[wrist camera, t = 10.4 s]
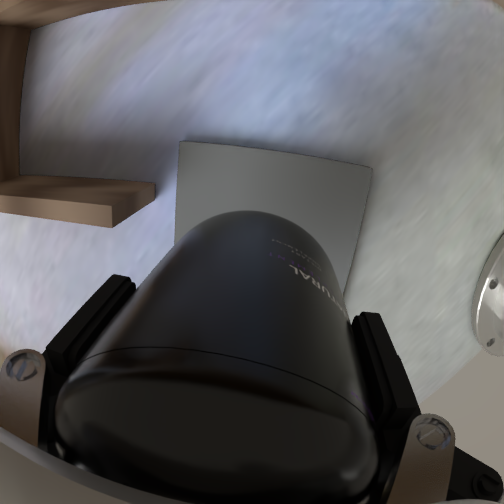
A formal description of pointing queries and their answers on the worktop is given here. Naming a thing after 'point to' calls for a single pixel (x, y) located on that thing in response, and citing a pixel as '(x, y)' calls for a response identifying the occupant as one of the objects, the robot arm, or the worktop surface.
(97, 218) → the cubby
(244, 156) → the pad
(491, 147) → the worktop surface
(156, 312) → the supplement bottle
